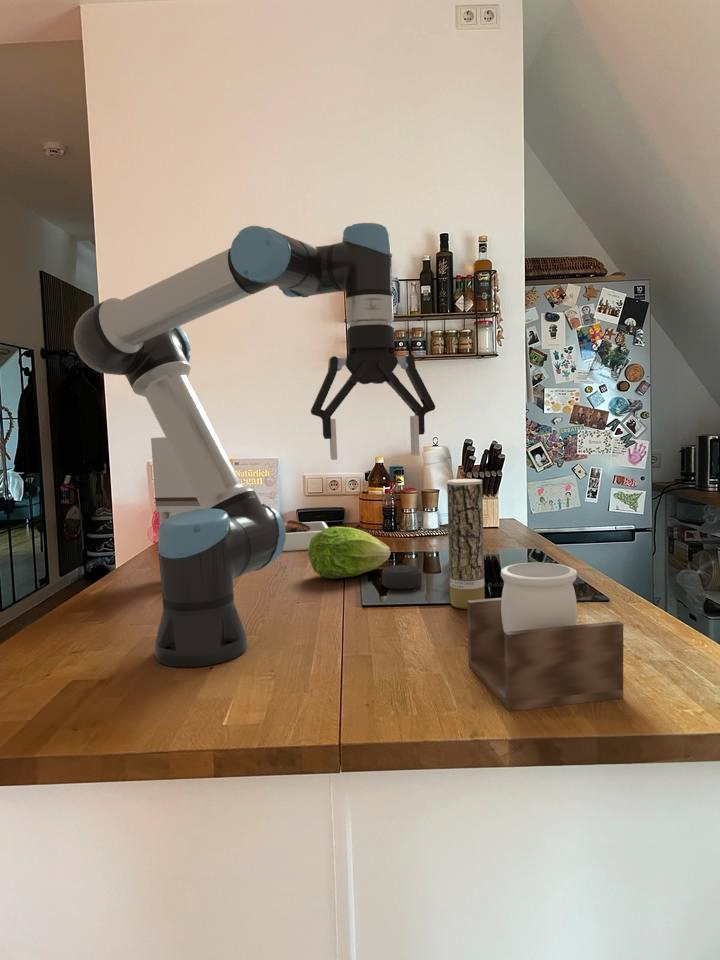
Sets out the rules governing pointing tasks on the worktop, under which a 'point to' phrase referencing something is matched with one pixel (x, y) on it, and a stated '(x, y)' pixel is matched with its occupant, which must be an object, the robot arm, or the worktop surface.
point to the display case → (170, 482)
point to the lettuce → (345, 552)
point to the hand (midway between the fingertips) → (375, 457)
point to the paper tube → (465, 541)
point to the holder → (544, 660)
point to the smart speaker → (401, 577)
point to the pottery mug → (296, 527)
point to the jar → (538, 596)
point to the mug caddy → (303, 537)
